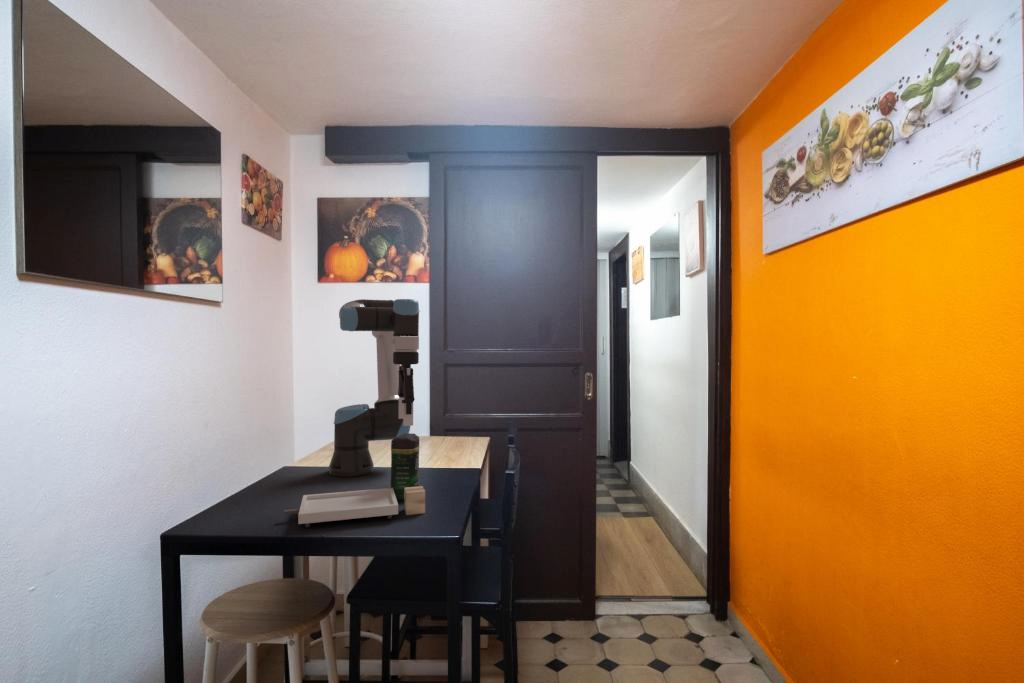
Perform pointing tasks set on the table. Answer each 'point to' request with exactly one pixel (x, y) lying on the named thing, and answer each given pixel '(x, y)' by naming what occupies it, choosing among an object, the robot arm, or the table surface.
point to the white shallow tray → (346, 506)
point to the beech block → (414, 500)
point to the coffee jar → (404, 463)
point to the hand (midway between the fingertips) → (405, 421)
